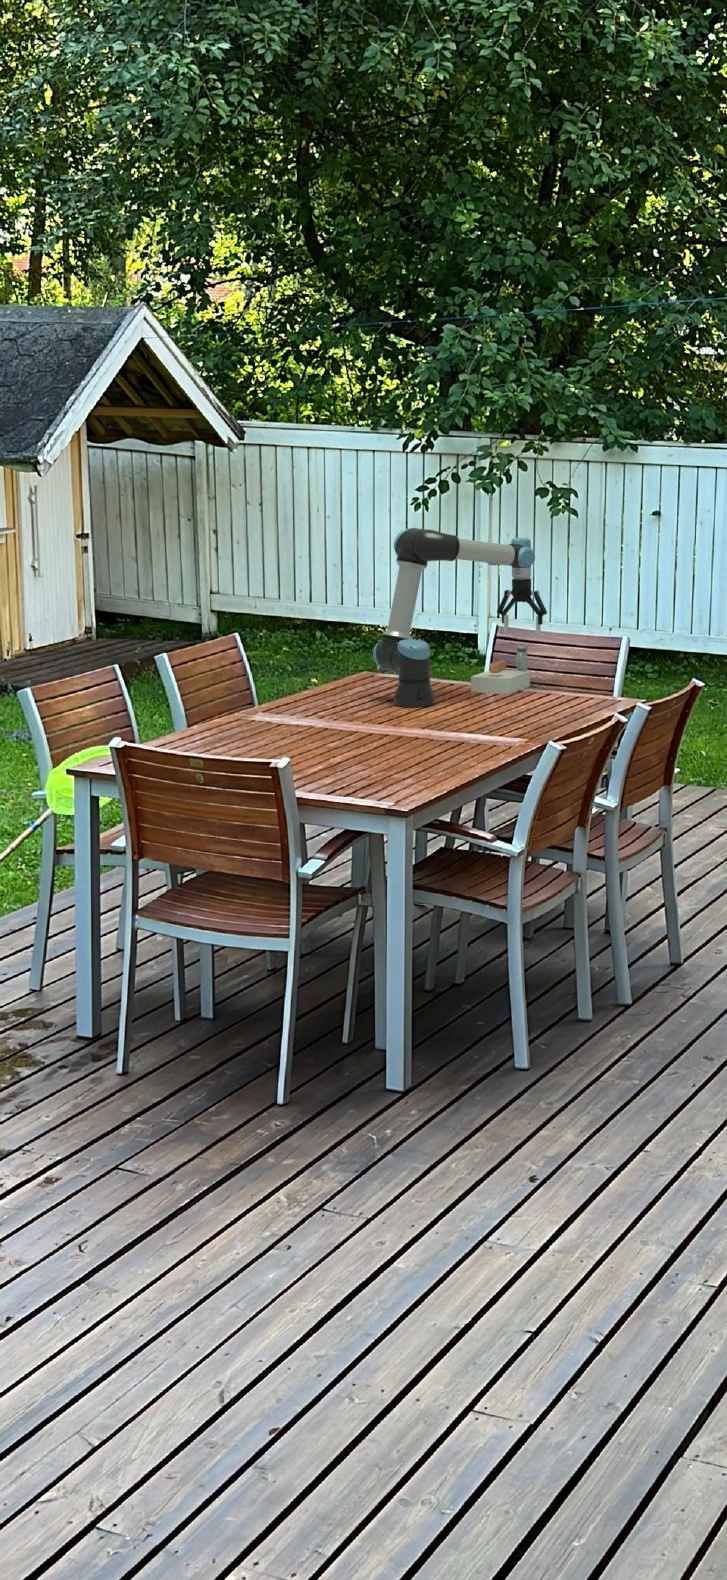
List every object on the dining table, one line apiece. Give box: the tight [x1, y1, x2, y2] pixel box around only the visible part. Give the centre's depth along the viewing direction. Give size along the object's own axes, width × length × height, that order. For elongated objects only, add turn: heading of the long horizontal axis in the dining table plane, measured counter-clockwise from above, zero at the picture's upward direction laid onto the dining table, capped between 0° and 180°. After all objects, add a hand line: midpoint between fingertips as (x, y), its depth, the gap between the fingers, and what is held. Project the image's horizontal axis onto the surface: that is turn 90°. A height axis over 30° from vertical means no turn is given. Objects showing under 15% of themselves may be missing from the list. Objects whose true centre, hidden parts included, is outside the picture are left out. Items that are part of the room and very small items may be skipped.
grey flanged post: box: [514, 644, 532, 677], centre depth 705 cm, size 7×7×15 cm
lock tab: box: [489, 659, 508, 672], centre depth 700 cm, size 11×4×3 cm, turn 152°
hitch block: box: [470, 669, 531, 695], centre depth 693 cm, size 16×20×6 cm
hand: (522, 632), depth 702 cm, fingers open, 13 cm apart
